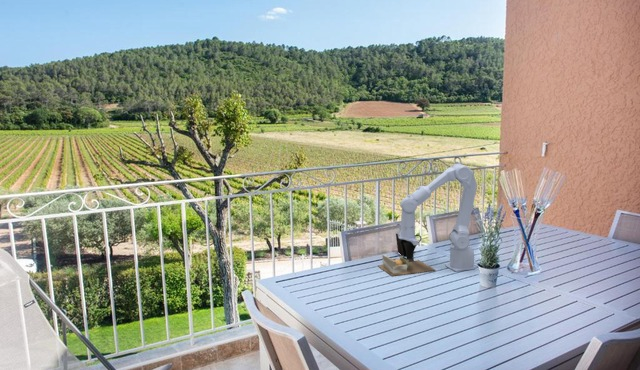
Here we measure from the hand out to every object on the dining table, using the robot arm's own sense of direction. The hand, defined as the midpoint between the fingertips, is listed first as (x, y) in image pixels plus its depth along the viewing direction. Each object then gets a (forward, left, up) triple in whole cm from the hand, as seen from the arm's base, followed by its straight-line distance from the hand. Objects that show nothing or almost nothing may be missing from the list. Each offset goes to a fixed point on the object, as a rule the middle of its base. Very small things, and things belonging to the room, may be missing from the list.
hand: (407, 257), depth 203 cm
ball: (+5, 0, -2) cm, 5 cm away
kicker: (0, 0, -4) cm, 4 cm away
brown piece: (+1, 0, -5) cm, 5 cm away
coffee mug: (-10, -19, -5) cm, 22 cm away
